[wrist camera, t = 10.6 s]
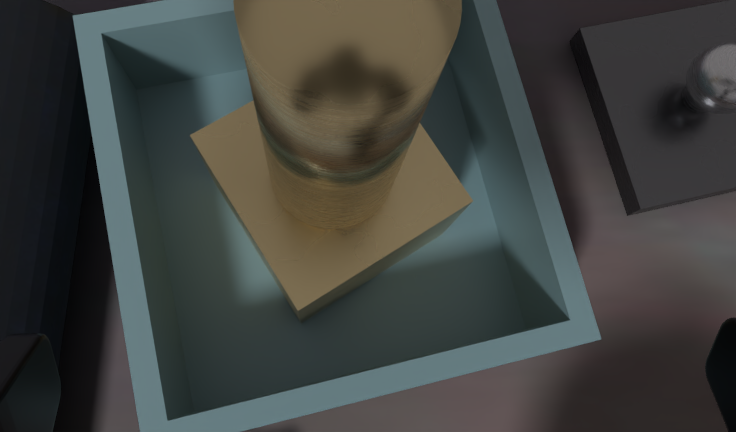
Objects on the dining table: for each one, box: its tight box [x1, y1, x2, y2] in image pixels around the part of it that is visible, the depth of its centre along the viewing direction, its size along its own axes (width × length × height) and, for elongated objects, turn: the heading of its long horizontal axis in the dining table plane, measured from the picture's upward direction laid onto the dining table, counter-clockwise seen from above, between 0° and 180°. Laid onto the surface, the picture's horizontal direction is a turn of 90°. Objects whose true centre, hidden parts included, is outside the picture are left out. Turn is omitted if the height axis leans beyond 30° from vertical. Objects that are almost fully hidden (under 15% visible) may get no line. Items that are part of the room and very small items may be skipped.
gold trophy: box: [190, 0, 473, 323], centre depth 16 cm, size 6×6×13 cm
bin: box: [73, 0, 601, 432], centre depth 21 cm, size 12×12×4 cm
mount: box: [570, 0, 736, 216], centre depth 23 cm, size 7×7×4 cm
